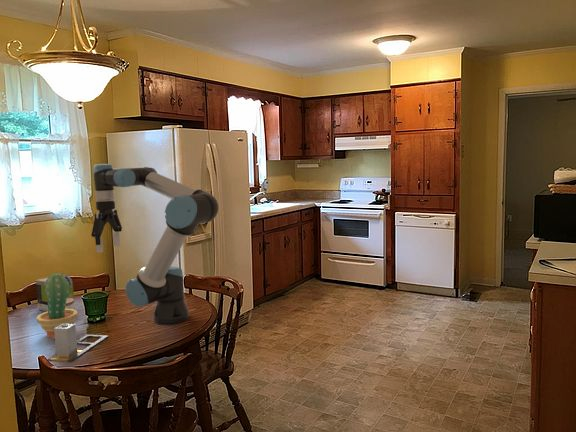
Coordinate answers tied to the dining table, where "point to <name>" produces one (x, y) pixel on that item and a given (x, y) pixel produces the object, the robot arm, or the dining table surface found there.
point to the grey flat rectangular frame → (80, 352)
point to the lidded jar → (69, 303)
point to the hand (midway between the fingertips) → (108, 249)
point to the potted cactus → (56, 304)
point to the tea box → (42, 294)
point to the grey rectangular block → (65, 341)
